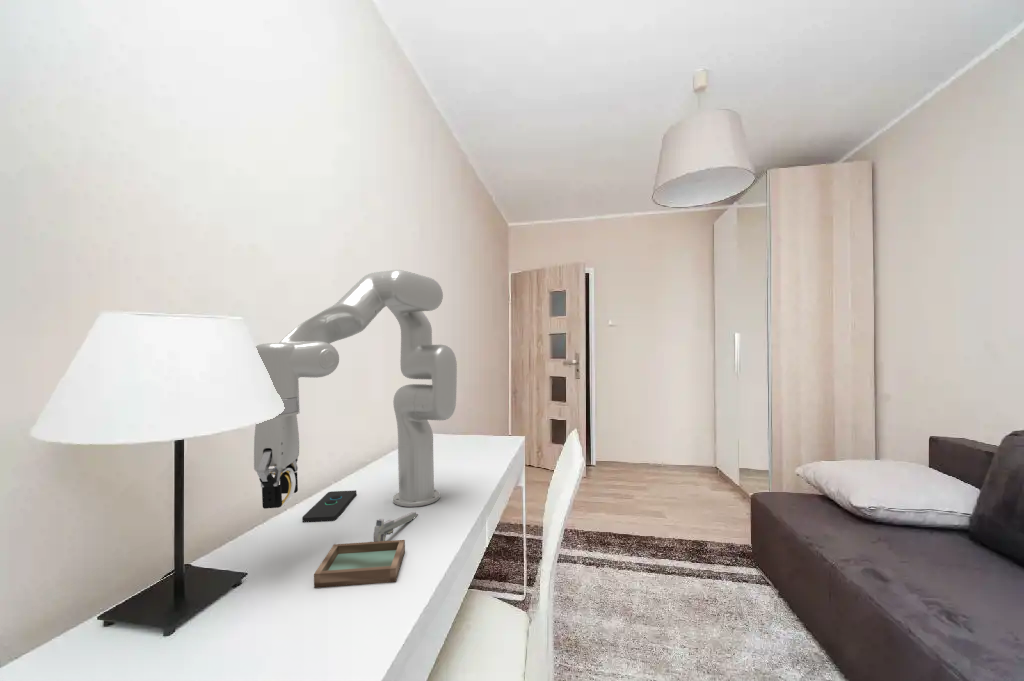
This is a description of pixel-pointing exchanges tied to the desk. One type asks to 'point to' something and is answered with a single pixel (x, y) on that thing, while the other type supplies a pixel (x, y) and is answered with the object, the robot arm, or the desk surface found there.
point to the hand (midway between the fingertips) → (281, 499)
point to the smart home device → (329, 506)
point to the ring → (292, 482)
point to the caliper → (390, 526)
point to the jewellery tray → (360, 564)
